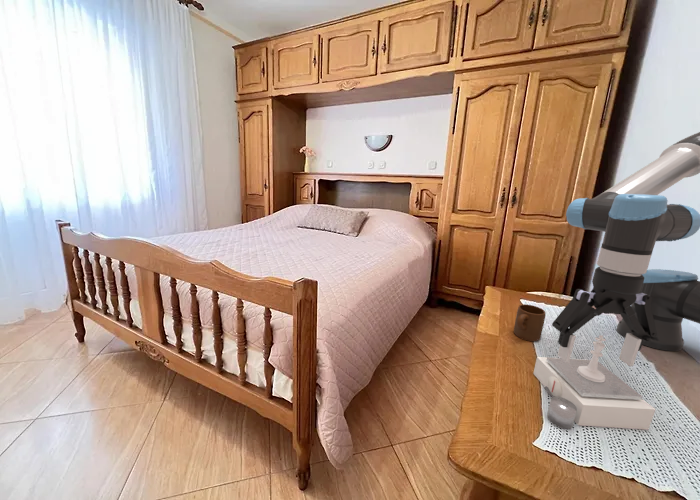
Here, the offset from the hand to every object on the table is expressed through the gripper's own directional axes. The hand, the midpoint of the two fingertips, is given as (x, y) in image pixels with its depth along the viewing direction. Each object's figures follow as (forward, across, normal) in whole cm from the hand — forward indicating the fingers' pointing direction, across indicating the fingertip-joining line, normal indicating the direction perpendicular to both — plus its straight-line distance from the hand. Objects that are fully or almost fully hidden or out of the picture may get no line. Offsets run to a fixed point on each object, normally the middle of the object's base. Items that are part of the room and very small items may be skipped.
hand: (594, 360), depth 64 cm
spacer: (+10, +10, +7) cm, 16 cm away
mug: (+10, 0, -26) cm, 28 cm away
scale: (+10, 0, 0) cm, 10 cm away
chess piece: (+4, 0, 0) cm, 4 cm away
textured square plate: (+5, 0, 0) cm, 5 cm away
